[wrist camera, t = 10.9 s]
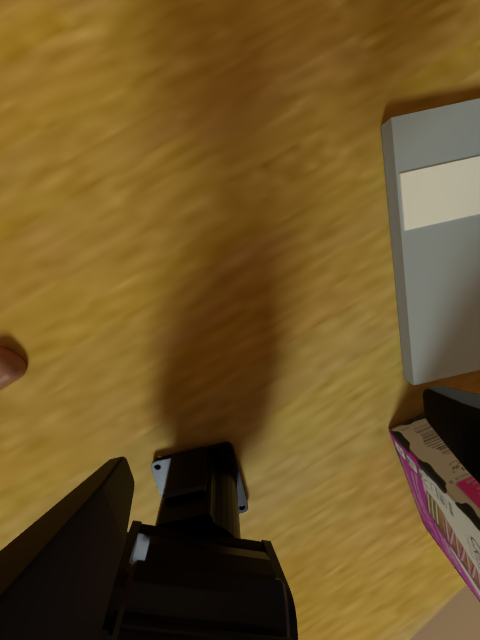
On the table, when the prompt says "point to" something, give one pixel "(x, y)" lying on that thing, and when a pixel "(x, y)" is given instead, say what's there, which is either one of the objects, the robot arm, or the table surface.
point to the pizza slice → (10, 367)
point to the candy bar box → (442, 495)
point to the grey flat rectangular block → (436, 237)
